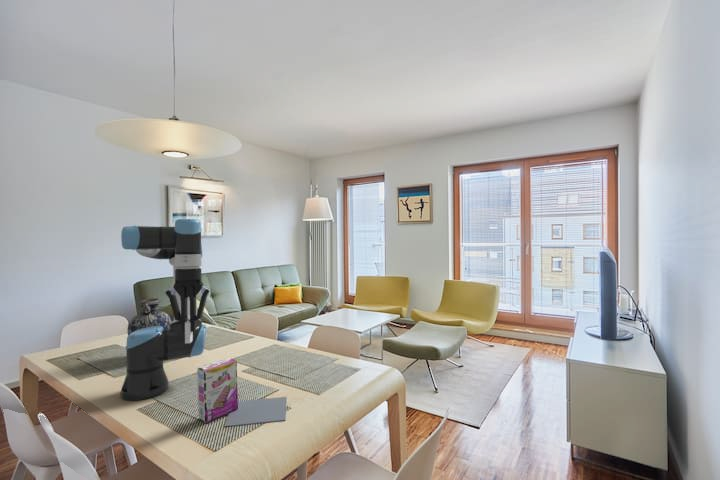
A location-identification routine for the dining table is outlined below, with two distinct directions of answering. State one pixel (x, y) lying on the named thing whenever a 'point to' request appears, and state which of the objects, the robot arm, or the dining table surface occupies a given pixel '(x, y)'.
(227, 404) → the candy bar box
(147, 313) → the decorative vase
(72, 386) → the dining table surface
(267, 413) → the mat
